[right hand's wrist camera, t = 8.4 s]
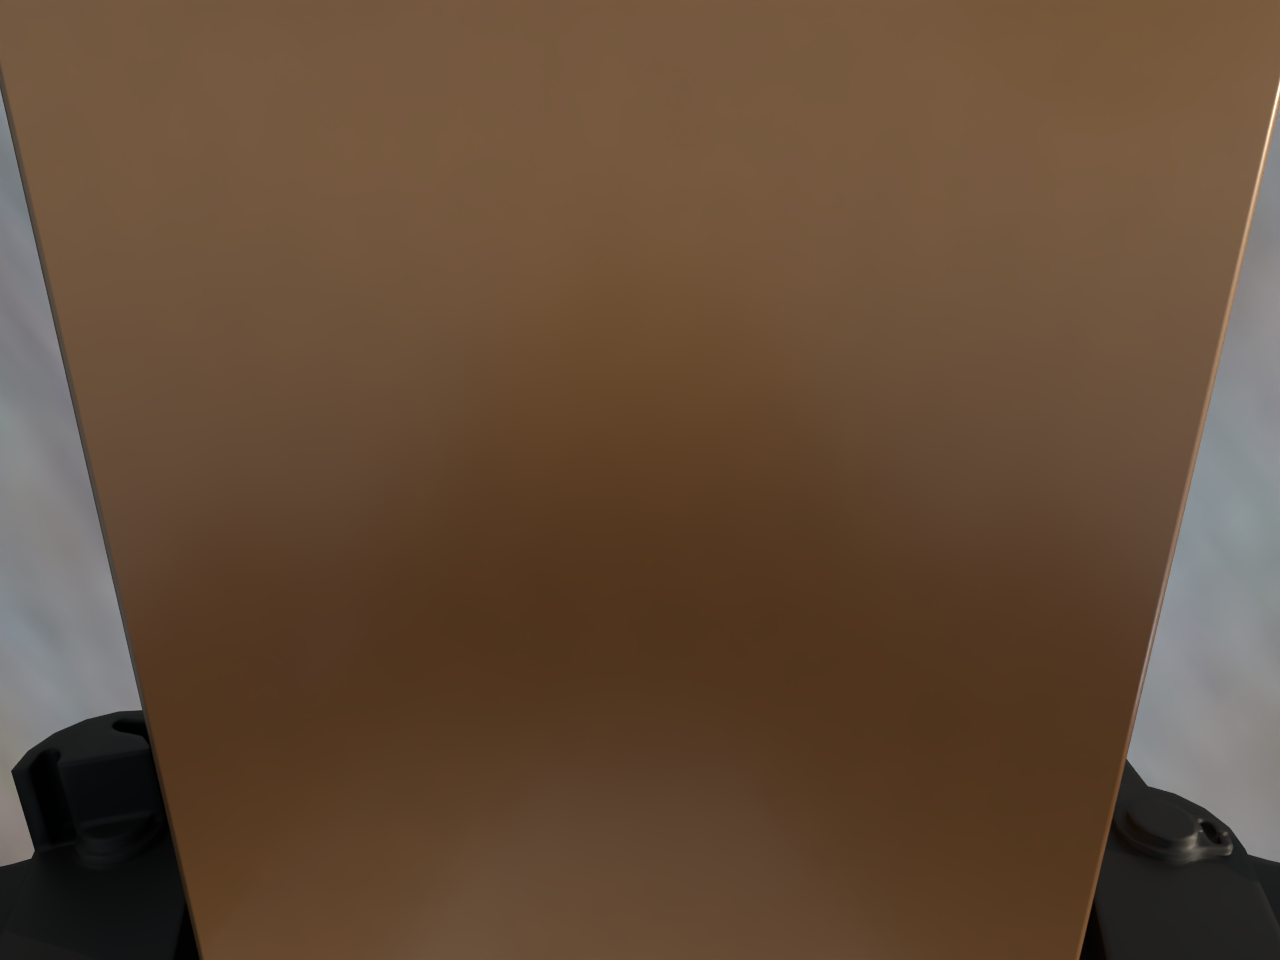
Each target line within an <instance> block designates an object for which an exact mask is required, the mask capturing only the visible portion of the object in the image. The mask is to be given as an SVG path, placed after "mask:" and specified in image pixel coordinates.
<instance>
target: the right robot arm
mask: <svg viewBox="0 0 1280 960" xmlns="http://www.w3.org/2000/svg"><path fill="white" fill-rule="evenodd" d="M11 772H12V776H13V779H14V782H15V786H16V789H17V792H18V796H19V799H20V802H21V806H22V809H23V812H24V816H25V819H26V822H27V826H28V829H29V832H30V836H31V839H32V842H33V846H34V849H35V852H34V854H33V856H32V858H31V859H28V860H25V861H21V862H18V863H14V864H11V865H6V866H1V867H0V960H200V959H199V955H198V951H197V946H196V942H195V938H194V933H193V929H192V924H191V920H190V916H189V911H188V907H187V903H186V898H185V894H184V889H183V885H182V881H181V876H180V872H179V868H178V863H177V859H176V854H175V850H174V846H173V841H172V837H171V833H170V828H169V824H168V820H167V815H166V811H165V806H164V802H163V798H162V793H161V789H160V785H159V780H158V776H157V771H156V767H155V763H154V758H153V754H152V750H151V745H150V741H149V736H148V732H147V728H146V723H145V719H144V715H143V710H139V711H120V712H115V713H111V714H107V715H103V716H99V717H95V718H90V719H86V720H84V721H82V722H79V723H77V724H75V725H72V726H70V727H68V728H65V729H63V730H61V731H58V732H56V733H54V734H53V735H51V736H50V737H48V738H47V739H45V740H44V741H42V742H41V743H39V744H38V745H36V746H35V747H33V748H32V749H30V750H29V751H28V752H27V753H26V754H25V755H24V756H23V758H22V759H21V760H20V761H19V762H18V763H17V765H16V766H15V767H14V768H13V769H12V771H11ZM1079 960H1280V863H1278V862H1274V861H1269V860H1266V859H1262V858H1259V857H1255V856H1252V855H1248V854H1247V852H1246V850H1245V848H1244V847H1243V845H1242V844H1241V843H1240V841H1239V840H1238V839H1237V837H1236V836H1235V834H1234V833H1233V832H1232V830H1231V829H1230V828H1229V827H1228V826H1227V825H1225V824H1224V823H1223V822H1222V821H1220V820H1219V819H1218V818H1216V817H1215V816H1214V815H1213V814H1211V813H1210V812H1209V811H1207V810H1206V809H1205V808H1203V807H1201V806H1199V805H1197V804H1195V803H1193V802H1191V801H1189V800H1187V799H1185V798H1182V797H1180V796H1178V795H1176V794H1174V793H1170V792H1167V791H1163V790H1160V789H1156V788H1152V787H1149V786H1147V785H1146V784H1145V782H1144V781H1143V780H1142V779H1141V777H1140V776H1139V775H1138V773H1137V772H1136V771H1135V769H1134V768H1133V767H1132V766H1131V764H1130V763H1129V762H1128V760H1127V759H1126V762H1125V766H1124V770H1123V774H1122V779H1121V783H1120V787H1119V791H1118V796H1117V800H1116V804H1115V809H1114V813H1113V817H1112V821H1111V826H1110V830H1109V834H1108V838H1107V843H1106V847H1105V851H1104V855H1103V860H1102V864H1101V868H1100V873H1099V877H1098V881H1097V885H1096V890H1095V894H1094V898H1093V902H1092V907H1091V911H1090V915H1089V919H1088V924H1087V928H1086V932H1085V937H1084V941H1083V945H1082V949H1081V954H1080V958H1079Z"/></svg>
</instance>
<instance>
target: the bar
mask: <svg viewBox="0 0 1280 960" xmlns="http://www.w3.org/2000/svg"><path fill="white" fill-rule="evenodd" d="M0 89H1V94H2V98H3V103H4V107H5V111H6V116H7V120H8V124H9V129H10V133H11V138H12V142H13V146H14V151H15V155H16V159H17V164H18V168H19V172H20V177H21V181H22V186H23V190H24V194H25V199H26V203H27V207H28V212H29V216H30V221H31V225H32V229H33V234H34V238H35V242H36V247H37V251H38V256H39V260H40V264H41V269H42V273H43V277H44V282H45V286H46V291H47V295H48V299H49V304H50V308H51V312H52V317H53V321H54V325H55V330H56V334H57V339H58V343H59V347H60V352H61V356H62V360H63V365H64V369H65V374H66V378H67V382H68V387H69V391H70V395H71V400H72V404H73V409H74V413H75V417H76V422H77V426H78V430H79V435H80V439H81V444H82V448H83V452H84V457H85V461H86V465H87V470H88V474H89V479H90V483H91V487H92V492H93V496H94V500H95V505H96V509H97V513H98V518H99V522H100V527H101V531H102V535H103V540H104V544H105V548H106V553H107V557H108V562H109V566H110V570H111V575H112V579H113V583H114V588H115V592H116V597H117V601H118V605H119V610H120V614H121V618H122V623H123V627H124V632H125V636H126V640H127V645H128V649H129V653H130V658H131V662H132V667H133V671H134V675H135V680H136V684H137V688H138V693H139V697H140V701H141V706H142V710H143V715H144V719H145V723H146V728H147V732H148V736H149V741H150V745H151V750H152V754H153V758H154V763H155V767H156V771H157V776H158V780H159V785H160V789H161V793H162V798H163V802H164V806H165V811H166V815H167V820H168V824H169V828H170V833H171V837H172V841H173V846H174V850H175V854H176V859H177V863H178V868H179V872H180V876H181V881H182V885H183V889H184V894H185V898H186V903H187V907H188V911H189V916H190V920H191V924H192V929H193V933H194V938H195V942H196V946H197V951H198V955H199V959H200V960H1079V958H1080V954H1081V949H1082V945H1083V941H1084V937H1085V932H1086V928H1087V924H1088V919H1089V915H1090V911H1091V907H1092V902H1093V898H1094V894H1095V890H1096V885H1097V881H1098V877H1099V873H1100V868H1101V864H1102V860H1103V855H1104V851H1105V847H1106V843H1107V838H1108V834H1109V830H1110V826H1111V821H1112V817H1113V813H1114V809H1115V804H1116V800H1117V796H1118V791H1119V787H1120V783H1121V779H1122V774H1123V770H1124V766H1125V762H1126V757H1127V753H1128V749H1129V745H1130V740H1131V736H1132V732H1133V727H1134V723H1135V719H1136V715H1137V710H1138V706H1139V702H1140V698H1141V693H1142V689H1143V685H1144V681H1145V676H1146V672H1147V668H1148V663H1149V659H1150V655H1151V651H1152V646H1153V642H1154V638H1155V634H1156V629H1157V625H1158V621H1159V617H1160V612H1161V608H1162V604H1163V600H1164V595H1165V591H1166V587H1167V582H1168V578H1169V574H1170V570H1171V565H1172V561H1173V557H1174V553H1175V548H1176V544H1177V540H1178V536H1179V531H1180V527H1181V523H1182V518H1183V514H1184V510H1185V506H1186V501H1187V497H1188V493H1189V489H1190V484H1191V480H1192V476H1193V472H1194V467H1195V463H1196V459H1197V454H1198V450H1199V446H1200V442H1201V437H1202V433H1203V429H1204V425H1205V420H1206V416H1207V412H1208V408H1209V403H1210V399H1211V395H1212V390H1213V386H1214V382H1215V378H1216V373H1217V369H1218V365H1219V361H1220V356H1221V352H1222V348H1223V344H1224V339H1225V335H1226V331H1227V326H1228V322H1229V318H1230V314H1231V309H1232V305H1233V301H1234V297H1235V292H1236V288H1237V284H1238V280H1239V275H1240V271H1241V267H1242V262H1243V258H1244V254H1245V250H1246V245H1247V241H1248V237H1249V233H1250V228H1251V224H1252V220H1253V216H1254V211H1255V207H1256V203H1257V198H1258V194H1259V190H1260V186H1261V181H1262V177H1263V173H1264V169H1265V164H1266V160H1267V156H1268V152H1269V147H1270V143H1271V139H1272V135H1273V130H1274V126H1275V122H1276V117H1277V113H1278V109H1279V105H1280V0H0Z"/></svg>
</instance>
